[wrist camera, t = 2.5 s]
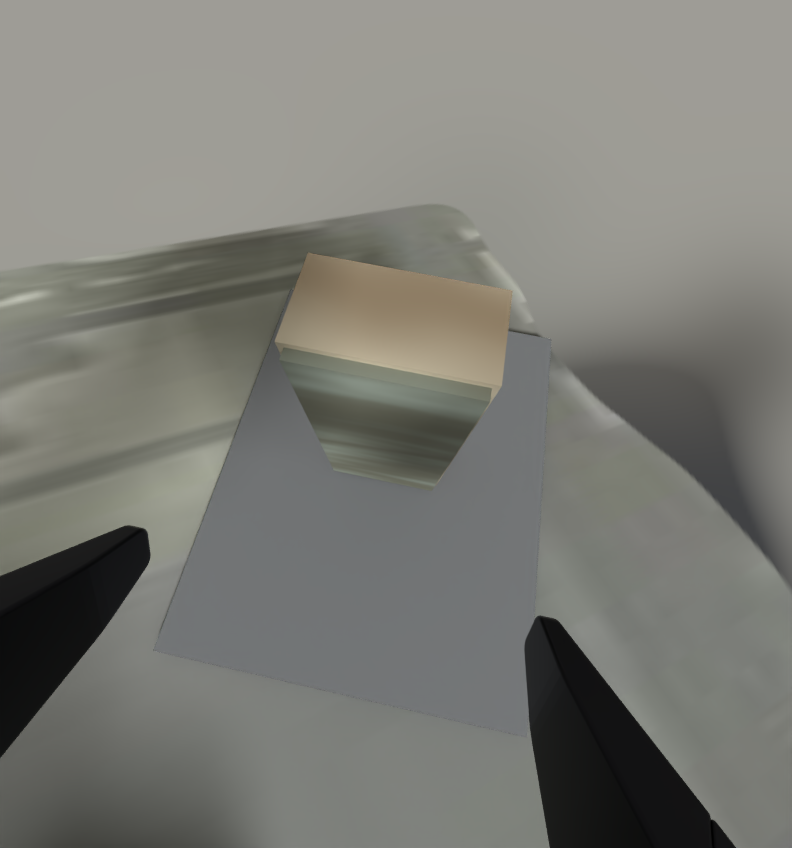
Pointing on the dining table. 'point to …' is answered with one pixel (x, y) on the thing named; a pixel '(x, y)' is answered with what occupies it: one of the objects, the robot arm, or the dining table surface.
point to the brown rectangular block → (392, 364)
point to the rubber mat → (374, 559)
